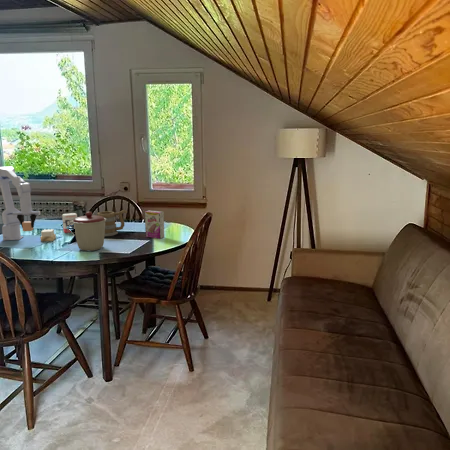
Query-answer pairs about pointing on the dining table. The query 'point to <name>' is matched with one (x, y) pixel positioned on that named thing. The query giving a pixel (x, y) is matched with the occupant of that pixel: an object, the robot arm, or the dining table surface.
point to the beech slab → (48, 238)
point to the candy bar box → (154, 224)
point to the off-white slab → (47, 233)
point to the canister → (89, 231)
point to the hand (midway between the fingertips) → (28, 227)
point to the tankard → (112, 222)
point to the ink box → (68, 221)
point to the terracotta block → (27, 226)
